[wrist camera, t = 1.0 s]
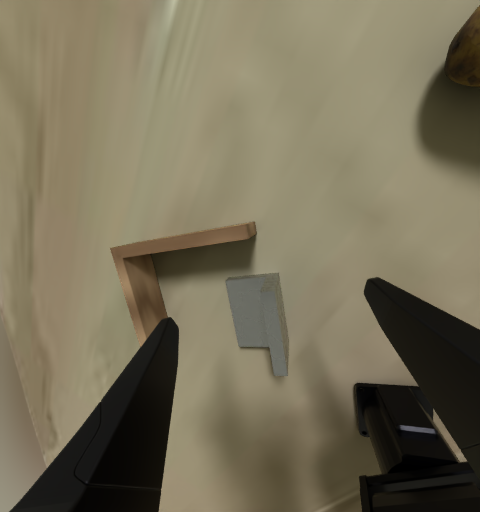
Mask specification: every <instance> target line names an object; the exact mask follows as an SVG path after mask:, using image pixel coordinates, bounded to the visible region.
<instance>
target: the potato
mask: <svg viewBox="0 0 480 512" xmlns="http://www.w3.org/2000/svg"><path fill="white" fill-rule="evenodd" d="M445 73H446V76H448V77H449V78H450V79H451V80H453V81H454V82H456V83H459V84H462V85H467V86H474V87H480V6H479V7H478V8H477V9H476V10H475V11H474V13H473V14H472V15H471V16H470V18H469V19H468V20H467V22H466V23H465V24H464V25H463V27H462V28H461V29H460V30H459V32H458V33H457V34H456V35H455V37H454V39H453V40H452V42H451V44H450V46H449V50H448V53H447V58H446V63H445Z"/></svg>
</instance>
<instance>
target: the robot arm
mask: <svg viewBox="0 0 480 512" xmlns="http://www.w3.org/2000/svg"><path fill="white" fill-rule="evenodd" d="M364 295H365V297H366V299H367V301H368V303H369V305H370V307H371V309H372V311H373V313H374V315H375V317H376V319H377V321H378V323H379V325H380V327H381V328H382V330H383V332H384V333H385V335H386V336H387V338H388V339H389V341H390V342H391V344H392V346H393V347H394V349H395V350H396V352H397V353H398V355H399V356H400V358H401V359H402V361H403V362H404V364H405V366H406V367H407V369H408V370H409V372H410V373H411V375H412V376H413V378H414V379H415V381H416V382H417V384H418V386H419V387H418V386H401V385H385V384H368V383H357V384H356V385H355V395H356V407H357V419H358V429H359V433H360V434H361V435H362V436H364V437H370V439H371V442H372V445H373V448H374V451H375V454H376V457H377V460H378V463H379V466H380V469H381V472H382V474H380V475H374V476H366V475H363V476H359V480H360V495H361V504H362V512H480V330H479V329H477V328H475V327H474V326H472V325H470V324H468V323H466V322H464V321H462V320H460V319H458V318H456V317H454V316H452V315H450V314H448V313H447V312H445V311H443V310H441V309H439V308H437V307H435V306H433V305H431V304H429V303H427V302H425V301H423V300H421V299H420V298H418V297H416V296H414V295H412V294H410V293H408V292H406V291H404V290H402V289H400V288H398V287H396V286H394V285H393V284H391V283H389V282H387V281H385V280H383V279H381V278H378V277H375V278H370V279H368V280H367V282H366V285H365V289H364ZM178 345H179V328H178V326H177V324H176V323H175V322H174V320H173V319H172V318H171V317H168V318H163V319H162V320H161V321H160V322H159V323H158V325H157V326H156V327H155V329H154V330H153V331H152V333H151V334H150V335H149V337H148V338H147V339H146V341H145V342H144V343H143V345H142V346H141V347H140V349H139V350H138V351H137V353H136V354H135V355H134V357H133V358H132V359H131V361H130V362H129V364H128V365H127V366H126V368H125V369H124V370H123V372H122V373H121V374H120V376H119V377H118V378H117V380H116V381H115V382H114V384H113V385H112V386H111V388H110V389H109V390H108V392H107V393H106V394H105V396H104V397H103V399H102V400H101V402H100V403H99V404H98V405H97V406H96V408H95V409H94V411H93V412H92V413H91V414H90V416H89V417H88V418H87V420H86V421H85V422H84V424H83V425H82V426H81V428H80V429H79V430H78V431H77V433H76V434H75V435H74V436H73V438H72V439H71V440H70V441H69V442H68V444H67V445H66V446H65V447H64V449H63V450H62V451H61V452H60V453H59V455H58V456H57V457H56V458H55V459H54V461H53V462H52V463H51V464H50V465H49V467H48V468H47V469H46V470H45V471H44V473H43V474H42V475H41V476H40V477H39V479H38V480H37V481H36V482H35V484H34V485H33V486H32V487H31V488H30V489H29V491H28V492H27V493H26V494H25V495H24V496H23V498H22V499H21V500H20V501H19V502H18V503H17V504H16V505H15V506H14V507H13V509H11V510H10V511H9V512H158V511H159V504H160V496H161V488H162V480H163V473H164V465H165V458H166V450H167V443H168V435H169V428H170V420H171V413H172V405H173V397H174V390H175V382H176V375H177V367H178ZM360 388H362V389H360ZM433 409H434V410H435V412H436V413H437V415H438V416H439V418H440V419H441V421H442V422H443V424H444V425H445V427H446V429H447V430H448V432H449V433H450V435H451V436H452V438H453V439H454V441H455V442H456V444H457V445H458V447H459V448H460V449H461V452H462V453H463V455H464V457H465V458H466V460H467V462H460V461H459V460H458V458H457V457H456V455H455V454H454V452H453V451H452V449H451V448H450V446H449V445H448V443H447V442H446V440H445V439H444V437H443V435H442V434H441V432H440V431H439V429H438V428H437V426H436V425H435V423H434V422H433Z"/></svg>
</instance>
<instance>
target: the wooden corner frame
mask: <svg viewBox="0 0 480 512" xmlns="http://www.w3.org/2000/svg"><path fill="white" fill-rule="evenodd" d="M256 233H257V232H256V225H255V222H249V223H244V224H238V225H232V226H227V227H221V228H215V229H210V230H204V231H198V232H193V233H187V234H181V235H176V236H170V237H164V238H159V239H153V240H147V241H142V242H137V243H132V244H127V245H122V246H118V247H113V248H110V250H111V253H112V256H113V259H114V263H115V266H116V269H117V272H118V276H119V279H120V282H121V285H122V289H123V292H124V295H125V298H126V302H127V305H128V308H129V311H130V315H131V318H132V321H133V324H134V328H135V331H136V334H137V337H138V341H139V344H140V347H141V346H142V345H143V343H144V342H145V341H146V339H147V338H148V337H149V335H150V334H151V333H152V331H153V330H154V329H155V327H156V326H157V325H158V323H159V322H160V321H161V320H162V319H163V318H168V317H167V313H166V309H165V306H164V302H163V298H162V295H161V291H160V287H159V284H158V280H157V276H156V272H155V269H154V265H153V261H152V258H151V254H152V253H158V252H165V251H172V250H178V249H185V248H191V247H198V246H204V245H211V244H218V243H224V242H231V241H237V240H244V239H249V238H250V237H252V236H253V235H255V234H256Z"/></svg>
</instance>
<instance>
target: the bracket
mask: <svg viewBox="0 0 480 512" xmlns="http://www.w3.org/2000/svg"><path fill="white" fill-rule="evenodd" d="M226 286H227V291H228V296H229V301H230V306H231V311H232V316H233V321H234V326H235V331H236V336H237V340H238V345H239V347H269V348H270V354H271V360H272V366H273V372H274V375H275V376H288V355H289V338H288V331H287V325H286V318H285V311H284V304H283V298H282V291H281V284H280V278H279V273H270V274H260V275H249V276H239V277H228V279H227V280H226Z"/></svg>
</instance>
